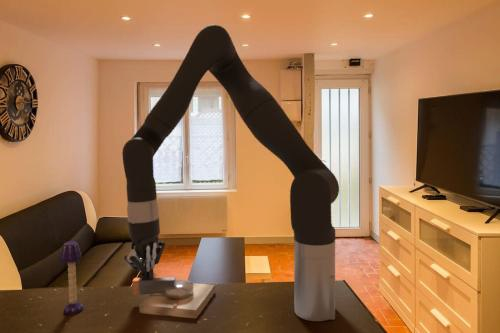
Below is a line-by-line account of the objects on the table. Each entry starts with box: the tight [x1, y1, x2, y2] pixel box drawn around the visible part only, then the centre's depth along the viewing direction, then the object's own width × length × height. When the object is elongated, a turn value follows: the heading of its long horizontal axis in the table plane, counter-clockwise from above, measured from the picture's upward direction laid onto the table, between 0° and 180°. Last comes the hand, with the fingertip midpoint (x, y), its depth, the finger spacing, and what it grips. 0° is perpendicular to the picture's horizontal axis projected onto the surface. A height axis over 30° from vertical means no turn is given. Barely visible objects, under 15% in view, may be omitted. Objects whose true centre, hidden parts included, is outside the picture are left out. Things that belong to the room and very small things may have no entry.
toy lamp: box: [59, 240, 84, 315], centre depth 89 cm, size 5×5×17 cm
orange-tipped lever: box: [132, 276, 193, 299], centre depth 93 cm, size 15×7×4 cm, turn 90°
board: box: [138, 282, 216, 319], centre depth 94 cm, size 14×14×2 cm
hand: (148, 283), depth 97 cm, fingers closed
